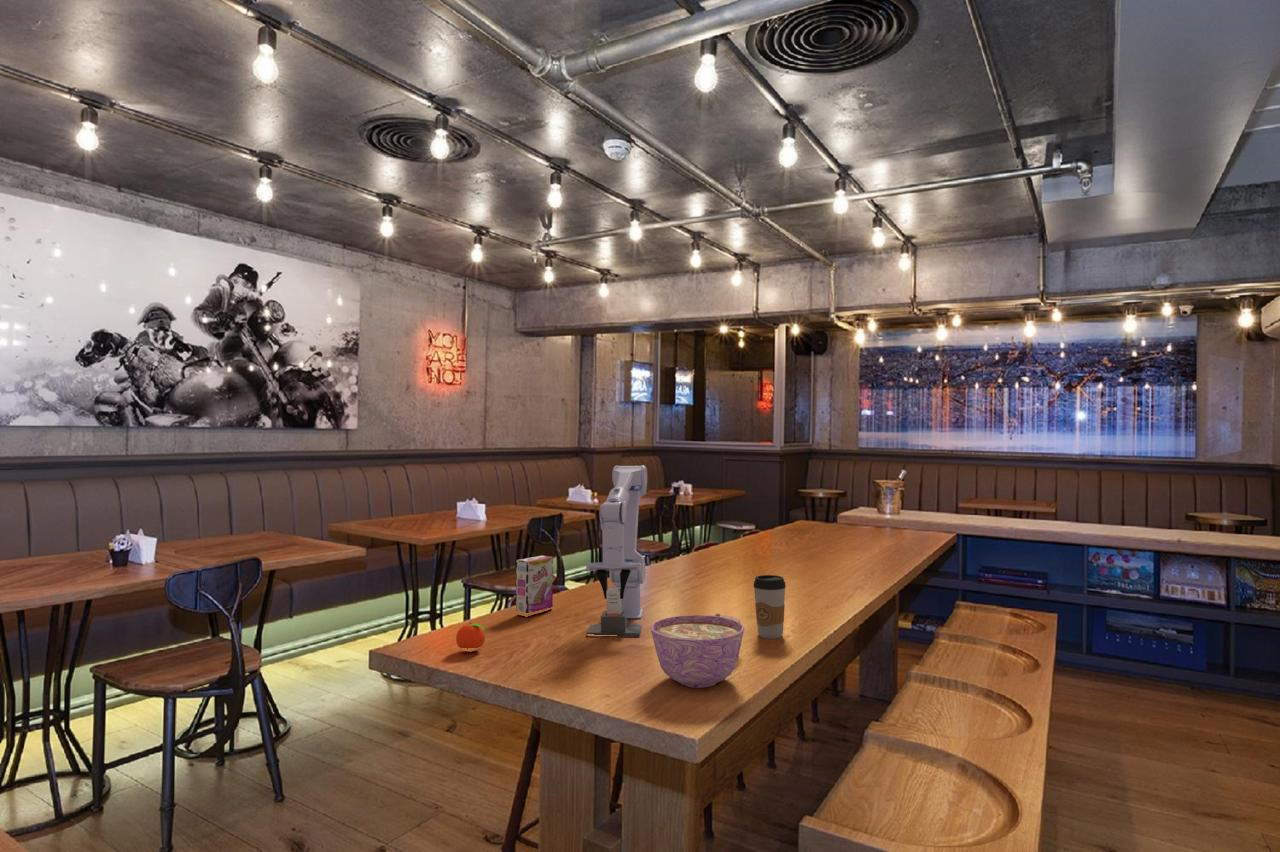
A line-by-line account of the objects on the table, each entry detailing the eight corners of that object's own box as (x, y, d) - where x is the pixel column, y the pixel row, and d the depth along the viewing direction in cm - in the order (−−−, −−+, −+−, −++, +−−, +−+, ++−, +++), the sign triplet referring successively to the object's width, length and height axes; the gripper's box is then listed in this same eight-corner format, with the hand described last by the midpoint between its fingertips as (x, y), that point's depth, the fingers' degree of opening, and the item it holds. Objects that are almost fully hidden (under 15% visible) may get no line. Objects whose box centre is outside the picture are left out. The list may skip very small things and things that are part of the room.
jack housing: (590, 628, 194) (590, 608, 194) (641, 628, 193) (641, 609, 193) (586, 636, 186) (586, 616, 186) (639, 636, 185) (639, 616, 185)
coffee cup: (747, 636, 184) (746, 578, 184) (765, 629, 190) (764, 573, 190) (775, 642, 178) (774, 582, 179) (792, 634, 185) (791, 577, 185)
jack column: (608, 617, 191) (607, 587, 192) (622, 618, 191) (621, 587, 191) (606, 621, 188) (606, 590, 188) (620, 621, 187) (620, 590, 188)
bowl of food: (670, 662, 164) (669, 611, 164) (755, 671, 156) (754, 619, 156) (636, 691, 145) (635, 634, 146) (731, 703, 138) (730, 644, 138)
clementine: (494, 649, 176) (493, 620, 176) (480, 657, 169) (480, 627, 170) (465, 646, 178) (465, 618, 178) (450, 655, 172) (450, 625, 172)
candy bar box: (527, 618, 206) (527, 561, 206) (515, 615, 209) (514, 560, 209) (554, 610, 215) (553, 556, 215) (542, 608, 218) (541, 554, 218)
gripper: (584, 549, 186) (584, 601, 186) (639, 549, 185) (639, 601, 185) (588, 545, 193) (588, 595, 193) (641, 545, 192) (641, 595, 192)
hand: (614, 597), depth 190 cm, fingers closed on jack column, 4 cm apart
